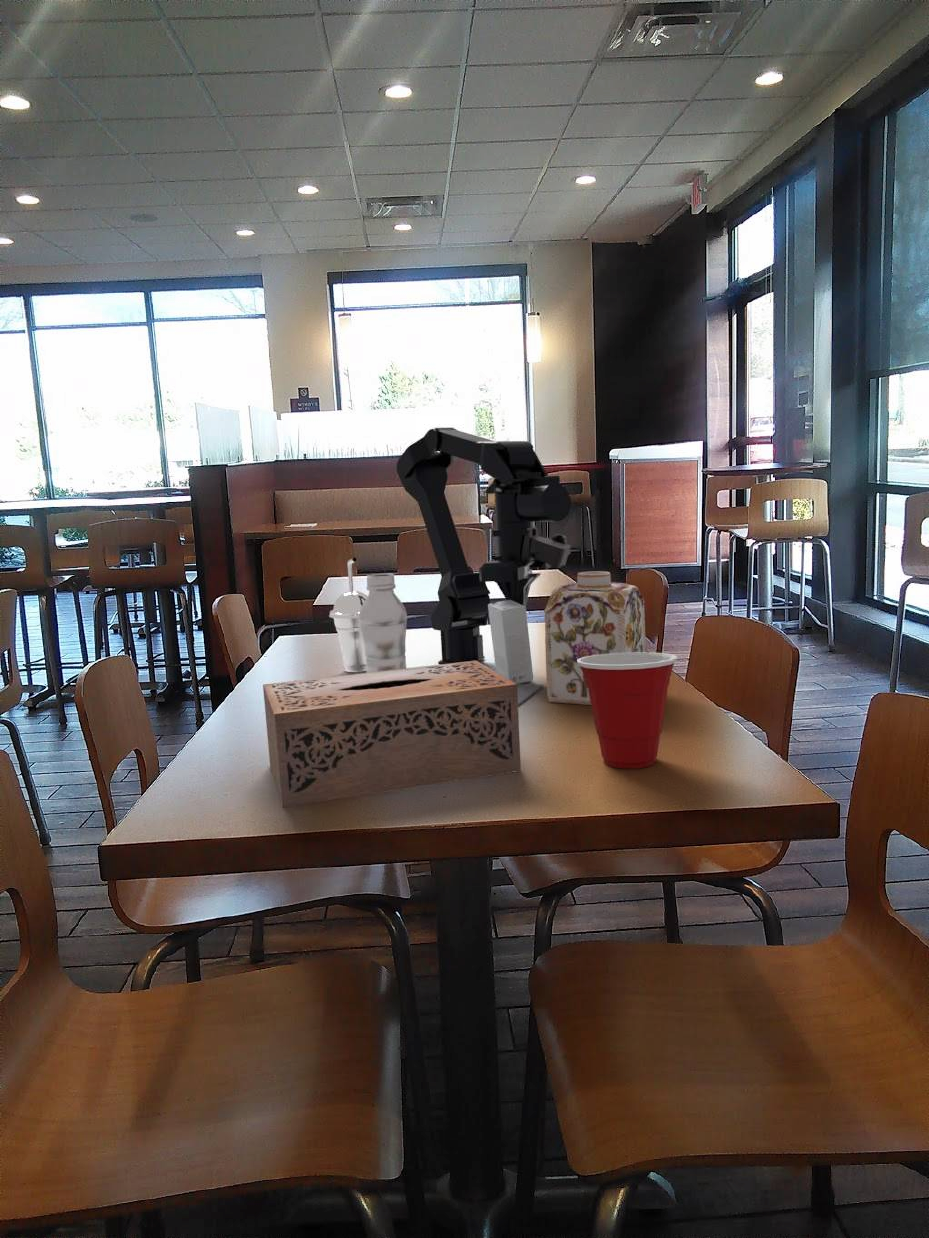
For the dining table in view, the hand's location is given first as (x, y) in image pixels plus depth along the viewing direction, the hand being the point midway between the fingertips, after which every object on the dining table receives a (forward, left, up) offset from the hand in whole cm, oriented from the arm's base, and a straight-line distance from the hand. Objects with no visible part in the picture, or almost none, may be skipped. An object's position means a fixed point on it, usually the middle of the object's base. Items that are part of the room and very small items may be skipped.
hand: (519, 619), depth 143 cm
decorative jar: (+15, -11, -10) cm, 21 cm away
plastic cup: (+26, -39, -9) cm, 48 cm away
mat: (0, -14, -9) cm, 17 cm away
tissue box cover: (+1, -48, -10) cm, 49 cm away
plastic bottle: (-8, -31, -9) cm, 33 cm away
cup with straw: (-30, -1, -9) cm, 32 cm away
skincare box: (0, -4, -9) cm, 10 cm away
